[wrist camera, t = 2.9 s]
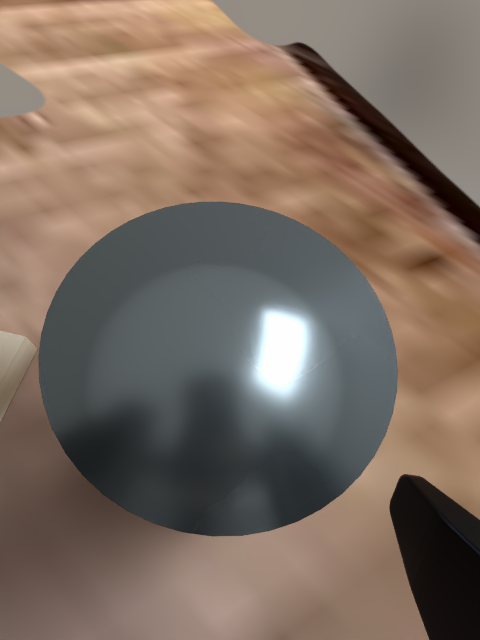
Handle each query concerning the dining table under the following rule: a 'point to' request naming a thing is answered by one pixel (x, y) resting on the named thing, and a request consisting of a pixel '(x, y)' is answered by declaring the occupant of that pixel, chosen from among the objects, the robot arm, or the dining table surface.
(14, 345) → the collar base
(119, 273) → the shiny steel cylinder
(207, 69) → the dining table surface
